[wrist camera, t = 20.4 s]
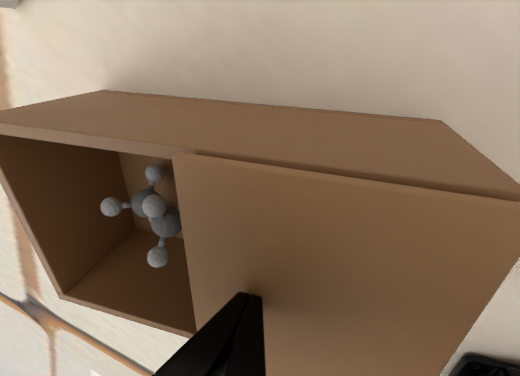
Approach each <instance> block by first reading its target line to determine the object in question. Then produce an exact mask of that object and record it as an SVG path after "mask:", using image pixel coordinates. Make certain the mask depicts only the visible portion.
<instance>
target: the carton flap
mask: <svg viewBox="0 0 520 376" xmlns="http://www.w3.org/2000/svg"><path fill="white" fill-rule="evenodd" d="M172 162H173V169H174V176H175V183H176V190H177V197H178V204H179V211H180V218H181V224H182V231H183V238H184V245H185V252H186V259H187V266H188V273H189V280H190V287H191V294H192V301H193V307H194V314H195V321H196V328H197V331H198V330H199V329H200V328H202V327H203V326H204V325H205V324H206V323H207V322H208V321H209V320H210V319H211V318H212V317H213V316H214V315H215V314H216V313H217V312H218V311H219V310H220V309H221V308H222V307H223V306H224V305H225V304H226V303H227V302H228V301H229V300H230V299H231V298H232V297H233V296H234V295H235V294H236V293H238V292H240V291H242V292H246V293H249V294H250V295H252V294H254V295H258V296H261V297H262V299H263V319H264V340H265V362H266V376H439V374H440V373H441V371H442V370H443V368H444V367H445V365H446V364H447V362H448V361H449V359H450V358H451V357H452V355H453V354H454V352H455V351H456V349H457V348H458V346H459V345H460V343H461V342H462V340H463V339H464V338H465V336H466V335H467V333H468V332H469V330H470V329H471V327H472V326H473V324H474V323H475V321H476V320H477V319H478V317H479V316H480V314H481V313H482V311H483V310H484V308H485V307H486V305H487V304H488V302H489V301H490V300H491V298H492V297H493V295H494V294H495V292H496V291H497V289H498V288H499V286H500V285H501V284H502V282H503V281H504V279H505V278H506V276H507V275H508V273H509V272H510V270H511V269H512V267H513V266H514V265H515V263H516V262H517V260H518V259H519V257H520V202H515V201H508V200H501V199H494V198H487V197H481V196H474V195H467V194H460V193H454V192H447V191H440V190H433V189H427V188H420V187H413V186H406V185H399V184H393V183H386V182H379V181H372V180H366V179H359V178H352V177H345V176H339V175H332V174H325V173H318V172H311V171H305V170H298V169H291V168H284V167H278V166H271V165H264V164H257V163H251V162H244V161H237V160H230V159H223V158H217V157H210V156H203V155H196V154H190V153H183V152H178V153H177V154H175V155H173V156H172Z"/></svg>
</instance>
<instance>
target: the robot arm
mask: <svg viewBox="0 0 520 376" xmlns="http://www.w3.org/2000/svg"><path fill="white" fill-rule="evenodd" d="M152 376H266V362H265V340H264V319H263V299H262V297H261V296H258V295H254V294H252V295H250V294H249V293H246V292H242V291H240V292H238V293H236V294H235V295H234V296H233V297H232V298H231V299H230V300H229V301H228V302H227V303H226V304H225V305H224V306H223V307H222V308H221V309H220V310H219V311H218V312H217V313H216V314H215V315H214V316H213V317H212V318H211V319H210V320H209V321H208V322H207V323H206V324H205V325H204V326H203V327H202V328H200V329H199V330H198V331H197V332H196V333H195V334H194V335H193V336H192V337H191V338H190V339H189V340H188V341H187V342H186V343H185V344H184V345H183V346H182V347H181V348H180V349H179V350H178V351H177V352H176V353H175V354H174V355H173V356H172V357H171V358H170V359H169V360H168V361H167V362H166V363H165V364H163V365H162V366H161V367H160V368H159V369H158V370H157V371H156V373H155V375H154V374H153V375H152ZM450 376H520V367H519V366H515V365H511V364H507V363H503V362H500V361H496V360H492V359H488V358H484V357H480V356H476V355H466V356H464V357H463V358H462V359H461V360H460V362H459V363H458V364H457V366H456V367H455V369H454V370H453V371H452V373H451V374H450Z"/></svg>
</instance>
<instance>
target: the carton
mask: <svg viewBox="0 0 520 376" xmlns="http://www.w3.org/2000/svg"><path fill="white" fill-rule="evenodd" d="M178 152H183V153H190V154H196V155H203V156H210V157H217V158H223V159H230V160H237V161H244V162H251V163H257V164H264V165H271V166H278V167H284V168H291V169H298V170H305V171H311V172H318V173H325V174H332V175H339V176H345V177H352V178H359V179H366V180H372V181H379V182H386V183H393V184H399V185H406V186H413V187H420V188H427V189H433V190H440V191H447V192H454V193H460V194H467V195H474V196H481V197H487V198H494V199H501V200H508V201H515V202H520V184H518V183H517V182H516V181H515V180H513V179H512V178H511V177H510V176H509V175H507V174H506V173H505V172H504V171H502V170H501V169H500V168H499V167H498V166H496V165H495V164H494V163H493V162H491V161H490V160H489V159H488V158H486V157H485V156H484V155H483V154H482V153H480V152H479V151H478V150H477V149H475V148H474V147H473V146H472V145H471V144H469V143H468V142H467V141H466V140H464V139H463V138H462V137H461V136H460V135H458V134H457V133H456V132H455V131H453V130H452V129H451V128H450V127H448V126H447V125H446V124H444V123H443V122H442V121H441V120H430V119H419V118H408V117H396V116H385V115H374V114H363V113H352V112H341V111H329V110H318V109H307V108H296V107H285V106H273V105H262V104H251V103H240V102H229V101H218V100H206V99H195V98H184V97H173V96H162V95H151V94H139V93H128V92H117V91H106V90H100V91H96V92H90V93H86V94H81V95H76V96H71V97H66V98H61V99H56V100H51V101H46V102H41V103H37V104H32V105H27V106H22V107H17V108H12V109H7V110H2V111H0V183H1V185H2V187H3V189H4V191H5V193H6V195H7V197H8V199H9V201H10V202H11V204H12V206H13V208H14V210H15V212H16V214H17V216H18V218H19V220H20V222H21V224H22V226H23V228H24V230H25V232H26V234H27V236H28V238H29V240H30V242H31V243H32V245H33V247H34V249H35V251H36V253H37V255H38V257H39V259H40V261H41V263H42V265H43V267H44V269H45V271H46V273H47V275H48V277H49V279H50V281H51V283H52V285H53V286H54V288H55V290H56V292H57V294H58V296H59V298H60V299H63V300H66V301H69V302H72V303H76V304H79V305H82V306H85V307H89V308H92V309H95V310H98V311H102V312H105V313H108V314H112V315H115V316H118V317H121V318H125V319H128V320H131V321H134V322H138V323H141V324H144V325H147V326H151V327H154V328H157V329H160V330H164V331H167V332H170V333H174V334H177V335H180V336H183V337H187V338H191V337H192V336H193V335H194V334H195V333H196V332H197V328H196V321H195V314H194V307H193V301H192V294H191V287H190V280H189V273H188V266H187V259H186V252H185V245H184V238H183V231H182V230H181V231H180V232H179V233H178V234H177V235H175V236H173V237H169V238H167V239H166V243H165V248H166V249H167V250H168V251H169V255H170V256H169V260H168V262H167V263H166V265H164V266H162V267H158V268H156V267H152V266H151V265H150V264H149V263H148V261H147V256H148V252H149V251H150V250H151V249H152V248H153V247H156V246H158V244H159V240H160V236H159V235H157V234H156V233H155V232H154V231H153V229H152V227H151V222H150V221H149V219H148V217H141V216H139V215H137V214H136V213H135V212H134V211H133V209H132V208H122V211H121V212H120V213H119V214H118V215H115V216H106V215H104V214H103V213H102V212H101V207H100V205H101V203H102V201H103V200H104V199H106V198H108V197H115V198H117V199H119V200H120V201H121V202H122V203H124V202H131V201H132V198H133V197H134V195H135V193H137V192H138V191H140V190H143V189H148V185H149V180H148V179H147V178H146V176H145V170H146V168H147V167H148V166H150V165H153V164H156V165H160V166H161V167H162V168H163V170H164V177H163V179H162V180H160V181H158V182H155V186H154V191H156V192H158V194H159V195H160V196H162V197H163V198H164V199H165V201H166V203H167V206H173V207H176V208H177V209H178V210H179V204H178V197H177V190H176V183H175V176H174V169H173V162H172V156H173V155H175V154H177V153H178Z"/></svg>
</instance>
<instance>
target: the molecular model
mask: <svg viewBox="0 0 520 376" xmlns="http://www.w3.org/2000/svg"><path fill="white" fill-rule="evenodd" d="M145 176H146V178H147V179H148V180H149V185H148V189H143V190H140V191H138V192H137V193H135V195H134V197H133V198H132V201H131V202H124V203H122V202H121V201H120V200H119V199H117V198H115V197H108V198H106V199H104V200H103V201H102V203H101V205H100V207H101V212H102V213H103V214H104V215H106V216H115V215H118V214H119V213H120V212H121V211H122V208H132V209H133V211H134V212H135V213H136V214H137V215H139V216H141V217H148V219H149V221H150V222H151V227H152V229H153V231H154V232H155V233H156V234H157V235H159V236H160V240H159V244H158V246H156V247H153V248H152V249H151V250H150V251H149V252H148V256H147V261H148V263H149V264H150V265H151V266H152V267H156V268H158V267H162V266H164V265H166V263H167V262H168V260H169V256H170V255H169V251H168V250H167V249H166V248H165V243H166V239H167V238H169V237H173V236H175V235H177V234H178V233H179V232H180V231H181V230H182V224H181V218H180V211H179V210H178V209H177V208H176V207H173V206H167V203H166V201H165V199H164V198H163V197H162V196H160V195H159V194H158V192H156V191H154V186H155V182H158V181H160V180H162V179H163V177H164V170H163V168H162V167H161V166H160V165H156V164H153V165H150V166H148V167H147V168H146V170H145Z"/></svg>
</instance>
